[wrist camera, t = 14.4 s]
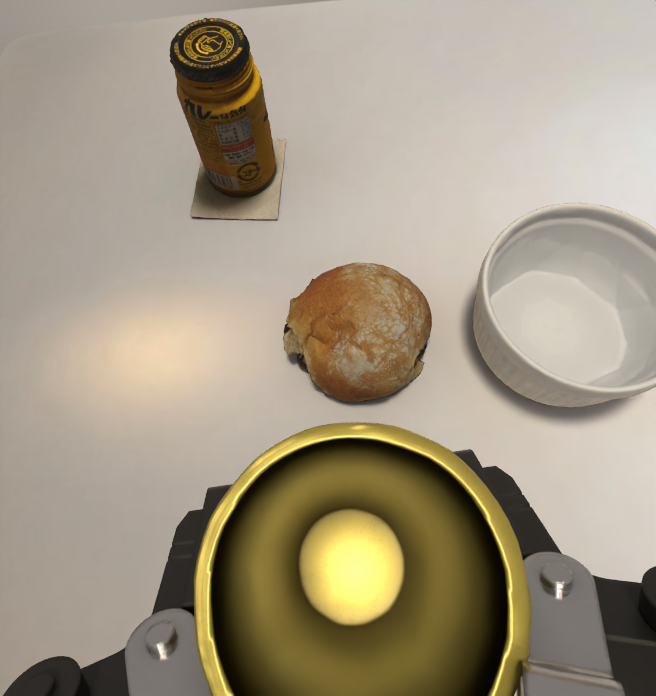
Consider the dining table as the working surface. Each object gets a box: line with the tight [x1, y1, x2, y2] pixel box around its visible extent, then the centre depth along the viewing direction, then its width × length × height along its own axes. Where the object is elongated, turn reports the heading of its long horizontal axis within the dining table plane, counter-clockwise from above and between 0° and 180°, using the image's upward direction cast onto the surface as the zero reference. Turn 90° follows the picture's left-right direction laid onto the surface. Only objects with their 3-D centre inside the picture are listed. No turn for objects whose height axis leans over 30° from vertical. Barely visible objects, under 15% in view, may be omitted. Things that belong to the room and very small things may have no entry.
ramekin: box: [473, 203, 656, 407], centre depth 34 cm, size 13×13×7 cm
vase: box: [194, 423, 532, 696], centre depth 14 cm, size 6×6×14 cm
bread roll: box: [283, 263, 432, 402], centre depth 36 cm, size 10×10×8 cm
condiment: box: [170, 18, 286, 220], centre depth 38 cm, size 7×8×12 cm
